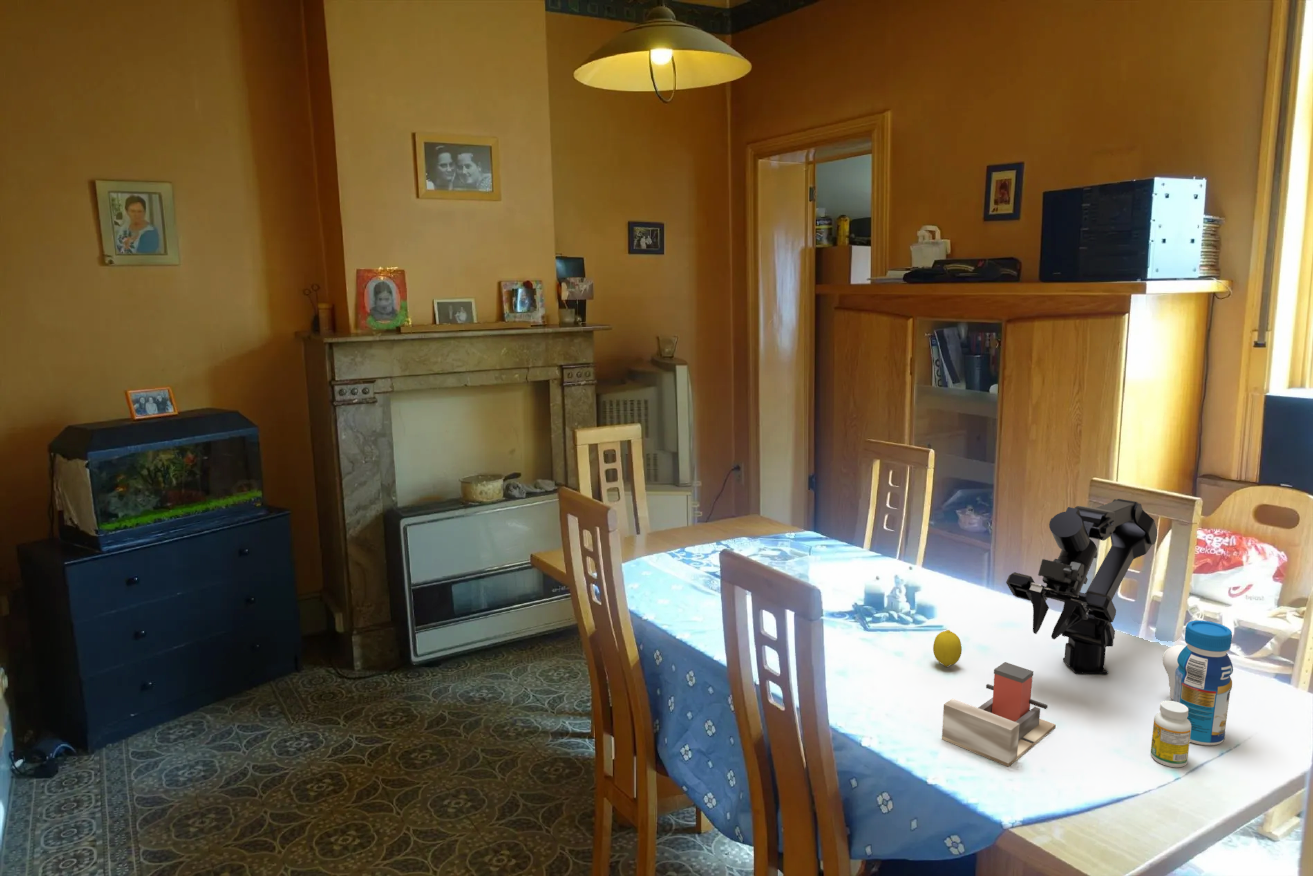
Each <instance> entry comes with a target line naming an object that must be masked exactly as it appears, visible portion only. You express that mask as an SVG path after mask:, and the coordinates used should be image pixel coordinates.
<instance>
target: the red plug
mask: <svg viewBox="0 0 1313 876" xmlns="http://www.w3.org/2000/svg"><path fill="white" fill-rule="evenodd" d="M993 674H994V677H993V678H994V679H993V685H992V684H989V683H987V684H986V685H985V688H986V689H988V690H990V691H993V693H992V694H993V695H992V698H993V705H992V713H993V714H995V715H998V716H1001V717H1003V718H1006V719H1009V720H1011V721H1014V722H1015V721H1017V720H1018V719H1019V718H1021V717H1022V716H1023V715H1025V714H1026V713H1027V712H1028V711H1030V710H1031V705H1033V706H1034V707H1037V708H1040V709H1044V710H1047V709H1048V704H1046V703H1043V702H1040V701H1037V700H1035V699H1032V685H1033V676H1034V670H1031V669H1027V668H1025V667H1022V666H1019V665H1015V664H1013V663H1010V662H1007V661H1005V662H1003V663H1002V664H1000V665H998V666H997V667H995V668H994V669H993Z"/></svg>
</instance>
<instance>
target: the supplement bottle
mask: <svg viewBox="0 0 1313 876" xmlns="http://www.w3.org/2000/svg"><path fill="white" fill-rule="evenodd" d="M1187 717H1188V708H1187V707H1186V706H1185V705H1183V704H1181V703H1179V702H1175V701H1173V700H1163V701H1160V705H1159V712H1158V713H1156V714H1155V715H1154V718H1153V726H1152V727H1153V728H1152V737H1151V746H1150V757H1152V758H1153V760H1154V761H1156V763H1158V764H1161V765H1162V766H1163V765H1164V766H1165V767H1171V768H1182V767H1184V766H1186V765H1187V764H1188V758H1189V750H1190V743H1191V742H1190V734H1191V723H1190V721H1189V720H1188V719H1187Z"/></svg>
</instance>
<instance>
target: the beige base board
mask: <svg viewBox="0 0 1313 876" xmlns="http://www.w3.org/2000/svg"><path fill="white" fill-rule="evenodd" d="M992 705H993V697H991V698H990V699H988V700H987V701H986V702H984V703H983V704H981V705H980V706H978V707H976V706H973V705H972V704H969V703H966V702H963V701H961V700H958V699H956V698H951V699H949V700H948V701H947V702H945V703H944V704H943V714H942V729H941V730H942V731H941V740H942V741H945V742H947V743H950V744H953V745H954V746H955V745H956V746H957V747H960V748H962V749H965V750H967V751H970V752H971V753H975V754H976V755H979V756H980V757H981V756H982V757H983V758H987V759H989V760H991V761H994V762H995V763H998V764H1001V765H1004V766H1006V767H1007V768H1009V767H1010V766H1012V765H1013V764H1014V763H1015V762H1016V761H1017V760H1019V759H1020V758H1021V757H1023V755H1025V754H1026V753H1027V752H1029V750H1031V749H1032V748H1033V747H1034V746H1035V745H1037V744H1038V743H1040V741H1042V740H1043V738H1045V737H1046V736H1047V735H1049V734H1050V733H1051V732H1053V730H1054V729H1056V724H1055V723H1054V722H1050V721H1048V720H1045V719H1042V718H1040V715H1041V707H1038V706H1033V707H1032V708H1030V711H1028V712H1027V713H1026V714H1025V715H1023V716H1022V717H1021V718H1019V719H1018V720H1017V721H1015V722H1014V721H1011V720H1009V719H1006V718H1003V717H1001V716H998V715H995V714H993V713H992Z"/></svg>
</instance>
